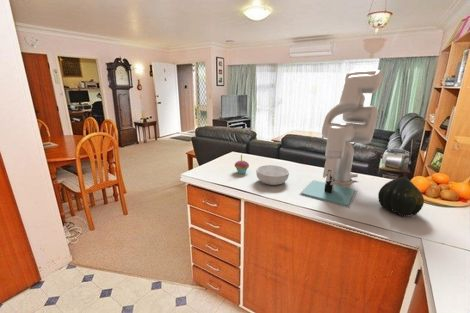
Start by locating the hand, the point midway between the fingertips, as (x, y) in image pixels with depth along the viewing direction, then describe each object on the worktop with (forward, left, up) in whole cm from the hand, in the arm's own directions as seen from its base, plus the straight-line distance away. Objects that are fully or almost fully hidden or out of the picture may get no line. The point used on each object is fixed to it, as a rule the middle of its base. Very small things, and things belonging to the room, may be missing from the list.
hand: (329, 190), depth 111 cm
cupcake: (+34, -36, -2) cm, 50 cm away
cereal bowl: (+22, -18, -2) cm, 29 cm away
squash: (-18, +20, -2) cm, 27 cm away
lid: (0, 0, -1) cm, 1 cm away
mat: (0, 0, -2) cm, 2 cm away
